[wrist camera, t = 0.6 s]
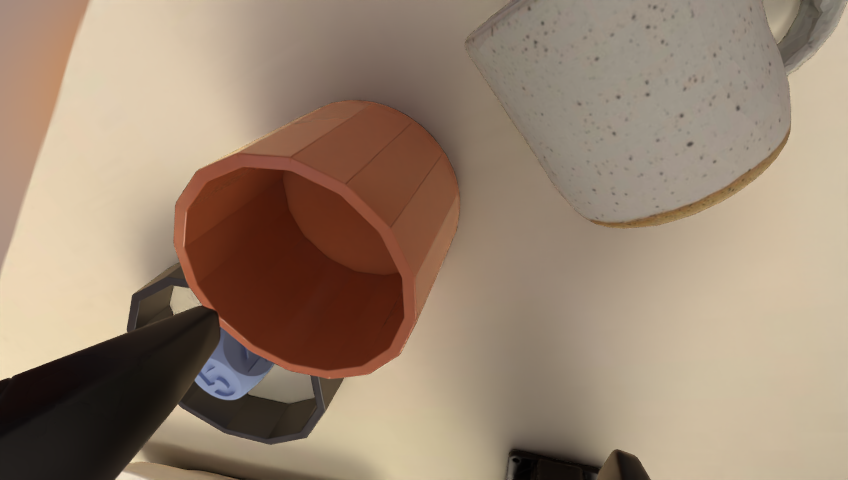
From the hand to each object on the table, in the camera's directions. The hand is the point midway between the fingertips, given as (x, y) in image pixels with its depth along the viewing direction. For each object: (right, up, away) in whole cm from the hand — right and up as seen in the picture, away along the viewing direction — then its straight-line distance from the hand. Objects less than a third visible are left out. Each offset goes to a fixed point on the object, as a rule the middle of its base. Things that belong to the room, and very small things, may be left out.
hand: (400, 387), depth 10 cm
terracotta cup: (-3, +6, +14) cm, 15 cm away
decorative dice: (-12, -4, +23) cm, 26 cm away
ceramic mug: (+9, +11, +7) cm, 16 cm away
